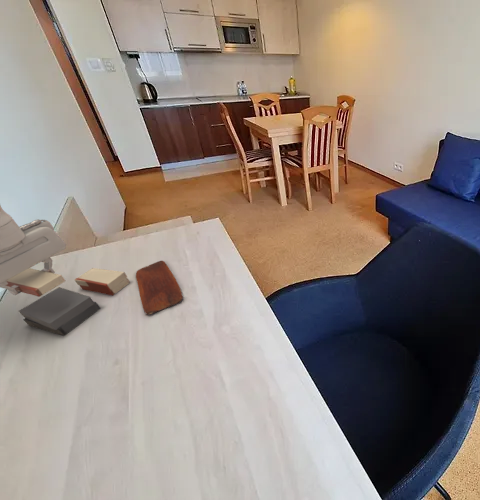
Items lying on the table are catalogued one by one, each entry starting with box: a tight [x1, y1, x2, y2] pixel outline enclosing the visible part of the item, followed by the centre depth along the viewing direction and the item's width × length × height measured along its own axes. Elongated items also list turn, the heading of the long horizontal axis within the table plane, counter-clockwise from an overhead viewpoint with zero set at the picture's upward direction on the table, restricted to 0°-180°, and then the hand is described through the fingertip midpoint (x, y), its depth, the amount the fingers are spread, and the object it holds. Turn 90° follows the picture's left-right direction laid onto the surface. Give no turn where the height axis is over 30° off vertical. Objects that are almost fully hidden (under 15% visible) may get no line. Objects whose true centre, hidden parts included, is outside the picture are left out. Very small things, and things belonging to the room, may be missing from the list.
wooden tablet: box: [135, 260, 183, 316], centre depth 92 cm, size 27×10×2 cm, turn 37°
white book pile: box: [74, 267, 131, 297], centre depth 93 cm, size 13×7×4 cm, turn 73°
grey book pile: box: [17, 286, 101, 337], centre depth 82 cm, size 15×11×5 cm
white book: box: [6, 267, 66, 298], centre depth 76 cm, size 13×6×2 cm, turn 72°
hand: (34, 283), depth 77 cm, fingers closed on white book, 6 cm apart
